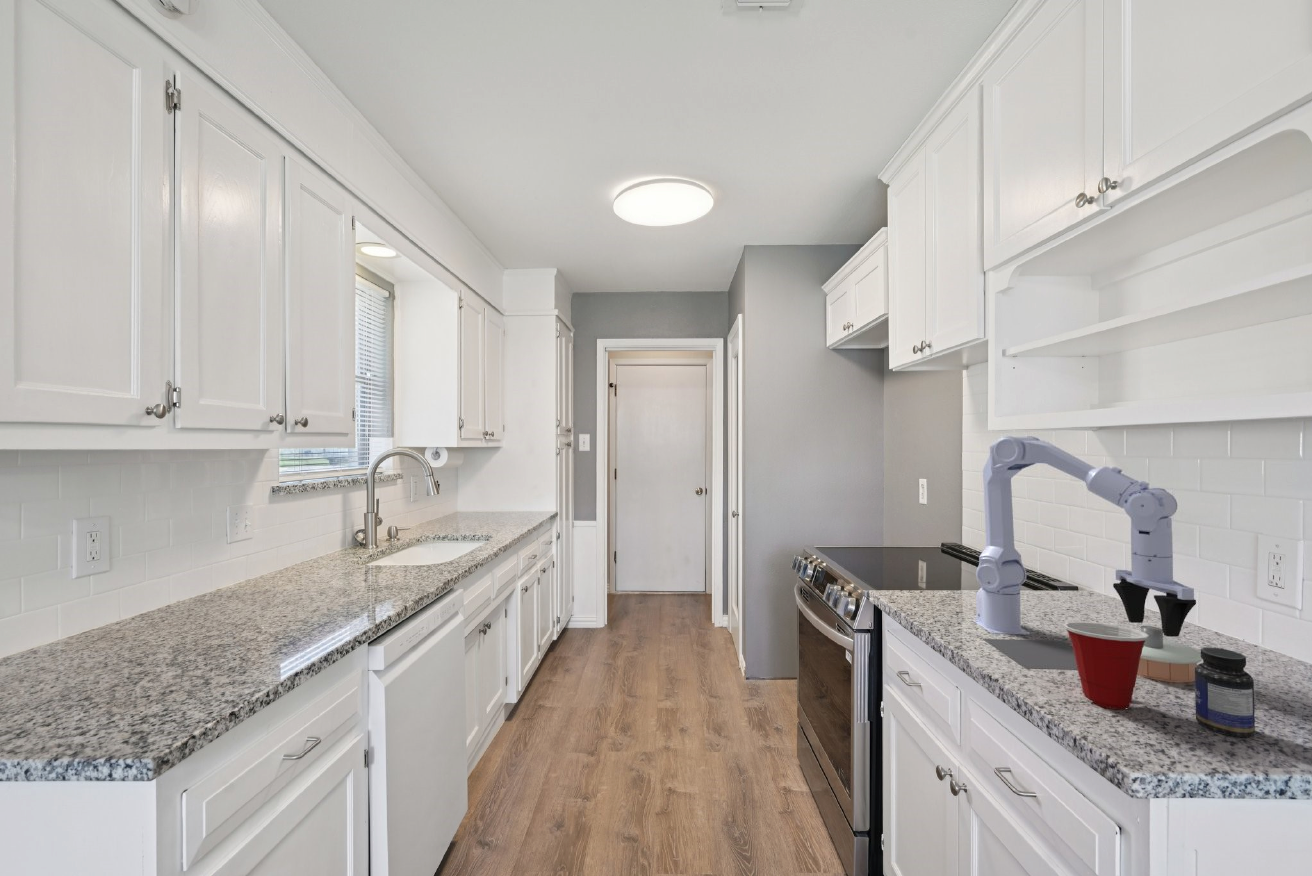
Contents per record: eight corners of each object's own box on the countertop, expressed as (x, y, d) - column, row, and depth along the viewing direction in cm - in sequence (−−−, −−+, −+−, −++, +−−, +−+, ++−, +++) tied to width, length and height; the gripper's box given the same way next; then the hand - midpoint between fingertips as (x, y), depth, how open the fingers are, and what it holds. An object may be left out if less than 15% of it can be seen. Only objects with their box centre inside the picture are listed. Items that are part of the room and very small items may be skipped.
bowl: (1101, 660, 108) (1100, 639, 108) (1162, 661, 107) (1161, 640, 107) (1145, 683, 97) (1145, 660, 98) (1213, 685, 96) (1213, 662, 97)
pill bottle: (1198, 714, 86) (1196, 642, 87) (1256, 729, 82) (1254, 653, 82) (1193, 727, 82) (1191, 652, 82) (1254, 743, 78) (1252, 663, 78)
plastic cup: (1127, 691, 95) (1125, 619, 95) (1166, 721, 84) (1164, 641, 85) (1053, 684, 98) (1052, 615, 98) (1082, 712, 87) (1080, 635, 87)
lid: (1089, 638, 109) (1089, 617, 109) (1158, 638, 109) (1158, 617, 109) (1144, 663, 96) (1144, 640, 96) (1223, 664, 96) (1223, 640, 96)
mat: (982, 641, 119) (982, 638, 119) (1061, 643, 118) (1061, 640, 118) (1025, 670, 103) (1025, 668, 103) (1117, 673, 102) (1117, 670, 102)
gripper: (1099, 547, 110) (1100, 616, 110) (1163, 562, 96) (1165, 642, 96) (1136, 547, 110) (1137, 616, 110) (1206, 562, 95) (1207, 642, 95)
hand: (1152, 628), depth 103 cm, fingers open, 7 cm apart
